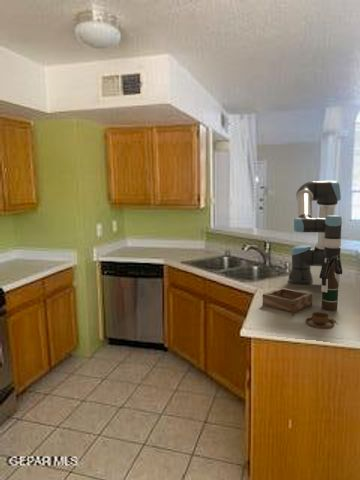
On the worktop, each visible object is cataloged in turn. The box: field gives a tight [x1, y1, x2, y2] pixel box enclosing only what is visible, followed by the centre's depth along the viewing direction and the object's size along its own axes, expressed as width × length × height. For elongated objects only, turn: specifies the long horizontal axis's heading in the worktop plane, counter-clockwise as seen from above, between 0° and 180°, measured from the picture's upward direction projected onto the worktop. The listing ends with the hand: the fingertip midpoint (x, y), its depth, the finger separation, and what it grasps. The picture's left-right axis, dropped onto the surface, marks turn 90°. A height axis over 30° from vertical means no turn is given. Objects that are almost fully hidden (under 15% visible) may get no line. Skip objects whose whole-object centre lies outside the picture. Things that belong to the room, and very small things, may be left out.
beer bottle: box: [321, 263, 339, 312], centre depth 187 cm, size 8×8×24 cm
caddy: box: [262, 287, 313, 314], centre depth 195 cm, size 18×18×6 cm
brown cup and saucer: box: [290, 304, 339, 329], centre depth 172 cm, size 18×20×6 cm
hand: (330, 289), depth 187 cm, fingers open, 13 cm apart
